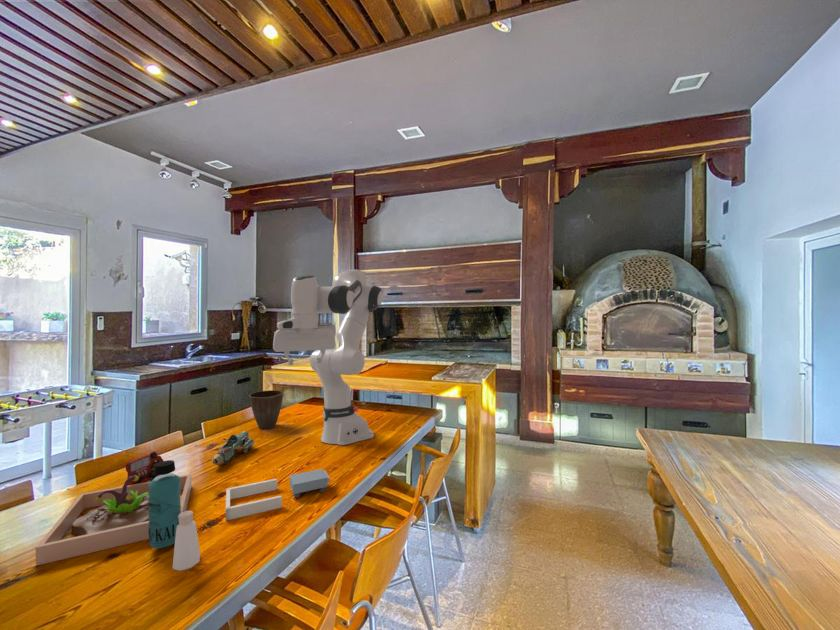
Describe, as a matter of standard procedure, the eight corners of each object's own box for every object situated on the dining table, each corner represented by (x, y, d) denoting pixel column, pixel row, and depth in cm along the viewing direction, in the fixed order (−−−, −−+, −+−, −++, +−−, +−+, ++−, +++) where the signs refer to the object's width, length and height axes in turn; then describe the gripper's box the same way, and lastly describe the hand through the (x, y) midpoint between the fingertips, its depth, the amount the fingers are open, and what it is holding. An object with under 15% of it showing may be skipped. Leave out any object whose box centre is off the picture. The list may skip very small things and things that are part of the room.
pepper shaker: (192, 570, 79) (192, 519, 79) (166, 572, 79) (165, 520, 79) (205, 554, 85) (204, 506, 85) (180, 555, 84) (179, 507, 84)
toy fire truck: (173, 479, 123) (173, 448, 123) (137, 498, 111) (136, 463, 111) (156, 477, 125) (156, 446, 125) (119, 495, 113) (118, 461, 113)
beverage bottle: (159, 539, 91) (157, 457, 90) (188, 537, 91) (186, 456, 91) (141, 556, 84) (140, 469, 84) (172, 554, 85) (170, 467, 84)
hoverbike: (258, 445, 154) (258, 425, 154) (228, 471, 129) (227, 447, 129) (235, 445, 154) (235, 425, 154) (200, 471, 129) (200, 448, 129)
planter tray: (191, 486, 118) (191, 474, 118) (181, 531, 94) (180, 515, 94) (80, 508, 106) (80, 494, 106) (35, 565, 81) (35, 547, 81)
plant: (184, 512, 103) (183, 472, 103) (96, 552, 86) (95, 504, 86) (149, 495, 113) (148, 458, 113) (63, 528, 96) (62, 485, 96)
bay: (276, 488, 116) (276, 478, 116) (281, 507, 105) (281, 496, 105) (226, 498, 110) (226, 488, 110) (225, 520, 98) (225, 509, 98)
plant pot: (276, 431, 171) (275, 397, 171) (244, 432, 171) (243, 397, 171) (288, 422, 186) (287, 390, 186) (258, 422, 186) (257, 390, 186)
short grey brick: (325, 481, 120) (324, 468, 120) (330, 491, 114) (329, 476, 114) (289, 489, 115) (289, 475, 115) (293, 499, 109) (293, 484, 109)
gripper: (333, 322, 133) (333, 360, 133) (272, 323, 124) (272, 364, 124) (337, 322, 127) (338, 362, 127) (273, 323, 118) (274, 367, 118)
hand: (305, 363), depth 126 cm, fingers open, 8 cm apart
